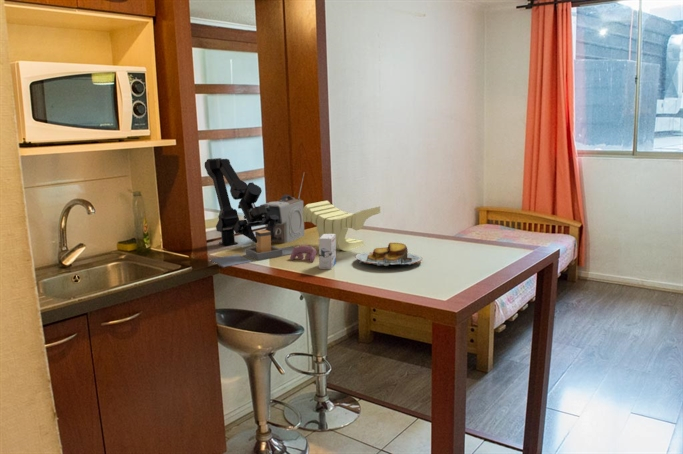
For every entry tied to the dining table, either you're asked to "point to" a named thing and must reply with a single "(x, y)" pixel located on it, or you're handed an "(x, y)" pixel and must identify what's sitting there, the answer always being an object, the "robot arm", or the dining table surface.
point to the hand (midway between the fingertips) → (265, 240)
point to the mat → (230, 260)
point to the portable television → (287, 218)
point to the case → (269, 252)
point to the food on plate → (389, 255)
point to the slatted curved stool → (337, 222)
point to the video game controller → (304, 249)
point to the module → (263, 241)
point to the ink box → (327, 251)
